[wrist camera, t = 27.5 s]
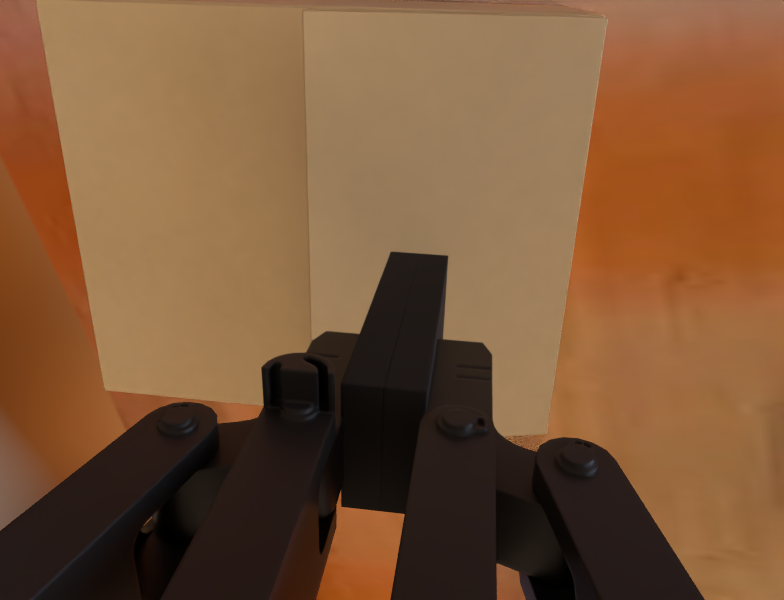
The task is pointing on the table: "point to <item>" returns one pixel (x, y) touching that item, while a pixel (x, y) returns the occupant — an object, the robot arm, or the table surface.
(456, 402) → the robot arm
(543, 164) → the flap
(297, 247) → the carton
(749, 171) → the table surface
